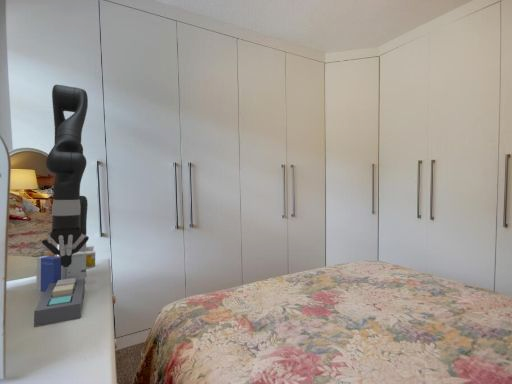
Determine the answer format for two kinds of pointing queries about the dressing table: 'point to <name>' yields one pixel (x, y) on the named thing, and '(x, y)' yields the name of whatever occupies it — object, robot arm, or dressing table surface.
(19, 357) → the dressing table surface
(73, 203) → the robot arm
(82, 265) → the skincare box
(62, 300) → the teal key
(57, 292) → the sand key
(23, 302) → the dressing table surface
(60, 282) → the grey key
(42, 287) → the walkman
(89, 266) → the supplement bottle
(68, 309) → the grey board with slots
